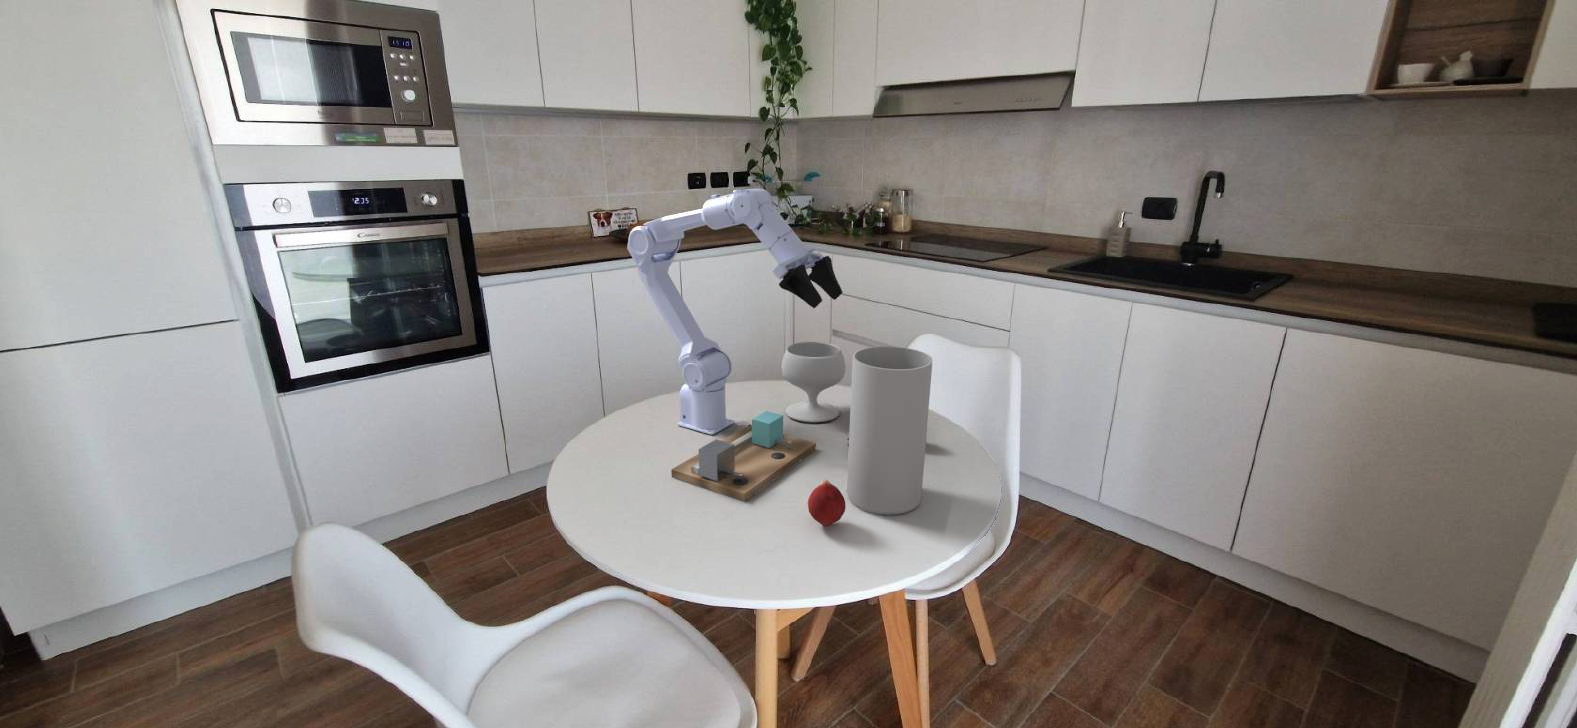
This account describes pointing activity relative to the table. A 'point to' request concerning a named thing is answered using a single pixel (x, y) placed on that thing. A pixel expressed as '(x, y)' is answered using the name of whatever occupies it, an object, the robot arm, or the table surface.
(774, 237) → the robot arm
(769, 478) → the board
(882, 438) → the cylinder vase
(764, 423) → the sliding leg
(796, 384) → the chalice
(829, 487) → the onion
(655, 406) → the table surface
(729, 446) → the fixed leg
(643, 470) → the table surface
